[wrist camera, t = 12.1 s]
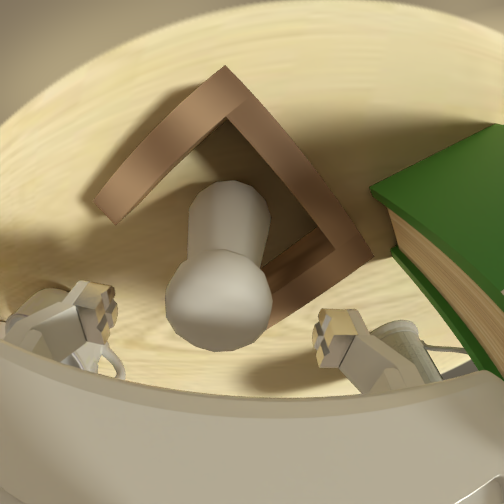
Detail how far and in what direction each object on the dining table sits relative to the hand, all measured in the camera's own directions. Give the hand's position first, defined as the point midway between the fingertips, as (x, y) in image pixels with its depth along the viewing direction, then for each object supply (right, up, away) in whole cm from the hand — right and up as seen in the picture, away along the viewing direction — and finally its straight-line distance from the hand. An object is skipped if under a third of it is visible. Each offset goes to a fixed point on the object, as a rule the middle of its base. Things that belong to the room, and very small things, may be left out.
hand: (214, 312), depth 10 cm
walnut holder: (0, +6, +11) cm, 12 cm away
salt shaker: (0, +6, +11) cm, 13 cm away
